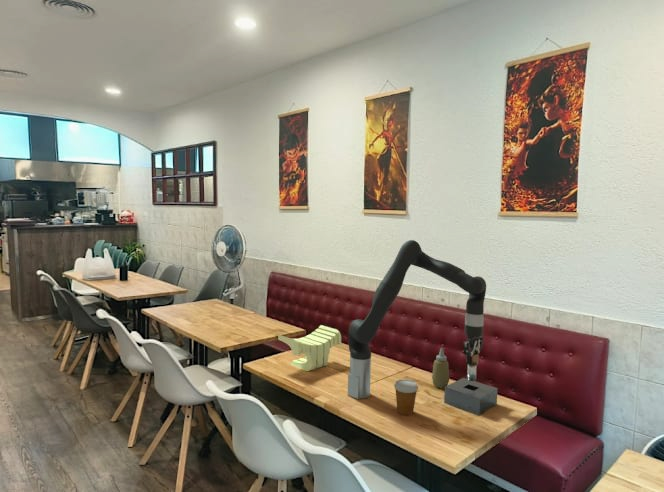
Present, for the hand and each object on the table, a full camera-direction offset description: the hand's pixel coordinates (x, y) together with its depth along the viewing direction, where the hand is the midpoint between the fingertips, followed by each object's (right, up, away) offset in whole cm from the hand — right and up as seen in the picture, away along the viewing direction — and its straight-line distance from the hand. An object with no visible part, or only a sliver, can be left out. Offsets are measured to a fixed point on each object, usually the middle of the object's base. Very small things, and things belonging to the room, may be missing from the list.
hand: (472, 362), depth 186 cm
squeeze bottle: (-9, -17, +20) cm, 27 cm away
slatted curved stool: (-72, -13, +43) cm, 85 cm away
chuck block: (0, -18, +1) cm, 18 cm away
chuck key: (0, -7, +1) cm, 7 cm away
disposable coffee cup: (-30, -18, -9) cm, 36 cm away
